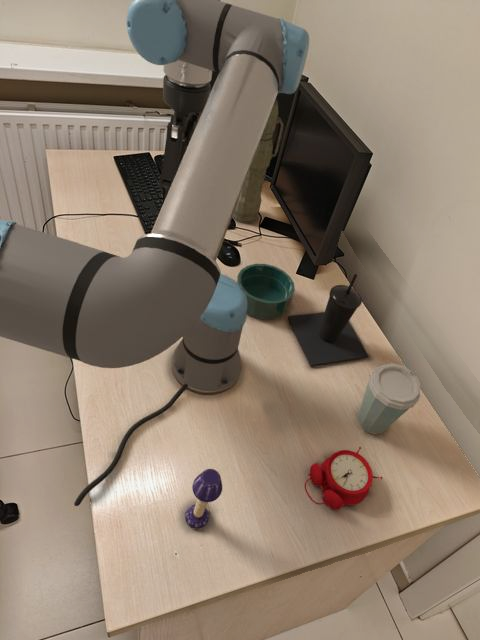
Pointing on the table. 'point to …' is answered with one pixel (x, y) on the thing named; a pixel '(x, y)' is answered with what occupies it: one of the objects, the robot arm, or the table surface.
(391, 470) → the table surface
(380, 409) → the disposable coffee cup
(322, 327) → the drinking cup
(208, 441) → the table surface
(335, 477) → the alarm clock
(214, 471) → the toy lamp
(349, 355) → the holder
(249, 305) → the green bowl
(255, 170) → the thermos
